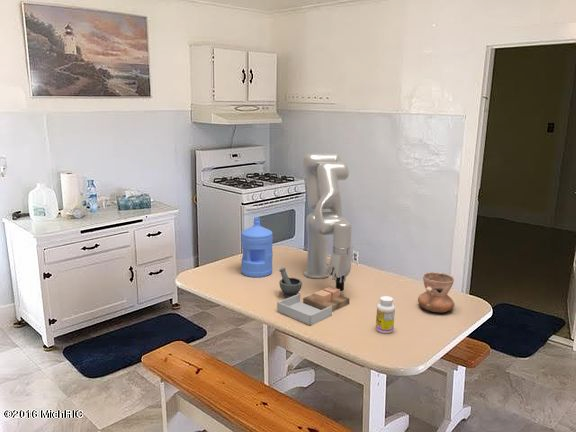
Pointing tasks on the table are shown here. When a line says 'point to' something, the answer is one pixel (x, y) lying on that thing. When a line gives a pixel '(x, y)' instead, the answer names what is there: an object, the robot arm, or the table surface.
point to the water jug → (256, 250)
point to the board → (335, 302)
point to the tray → (302, 310)
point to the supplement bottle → (385, 315)
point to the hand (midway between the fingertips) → (339, 290)
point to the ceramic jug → (436, 292)
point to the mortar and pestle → (289, 284)
